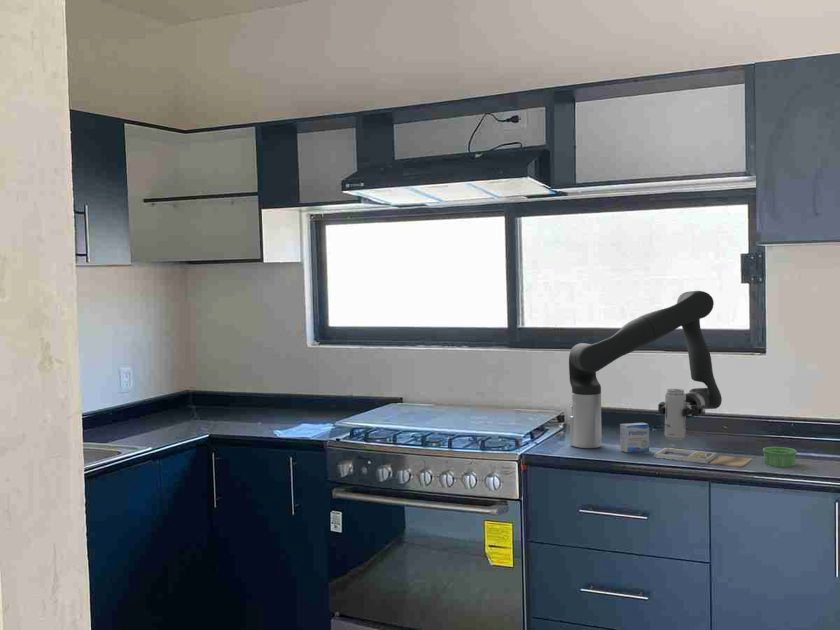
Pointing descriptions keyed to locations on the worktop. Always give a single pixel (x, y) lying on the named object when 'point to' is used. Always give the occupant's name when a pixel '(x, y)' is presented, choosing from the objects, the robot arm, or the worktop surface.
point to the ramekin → (779, 456)
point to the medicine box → (634, 437)
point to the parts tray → (694, 457)
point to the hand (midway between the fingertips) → (673, 412)
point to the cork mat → (731, 461)
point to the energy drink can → (675, 414)
